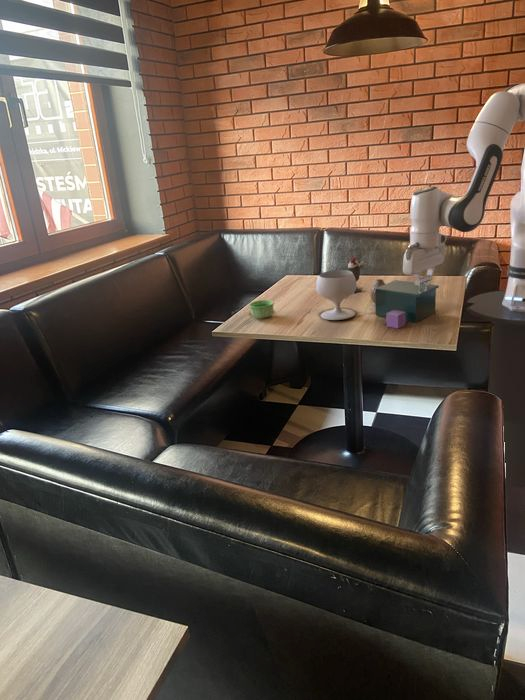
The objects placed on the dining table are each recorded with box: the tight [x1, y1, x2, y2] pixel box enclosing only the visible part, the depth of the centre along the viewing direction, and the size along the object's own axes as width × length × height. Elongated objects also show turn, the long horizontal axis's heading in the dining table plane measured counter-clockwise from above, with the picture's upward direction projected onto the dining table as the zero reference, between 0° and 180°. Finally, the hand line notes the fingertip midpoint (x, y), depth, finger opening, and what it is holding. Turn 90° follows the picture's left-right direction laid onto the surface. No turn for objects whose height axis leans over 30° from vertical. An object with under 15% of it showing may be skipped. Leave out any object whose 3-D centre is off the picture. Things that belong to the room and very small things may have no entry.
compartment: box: [375, 289, 437, 323], centre depth 183 cm, size 16×13×9 cm
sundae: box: [345, 254, 363, 293], centre depth 216 cm, size 7×7×15 cm
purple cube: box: [385, 310, 407, 329], centre depth 173 cm, size 4×4×4 cm
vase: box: [369, 278, 386, 305], centre depth 197 cm, size 7×7×9 cm
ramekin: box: [248, 299, 274, 319], centre depth 197 cm, size 9×9×4 cm
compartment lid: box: [375, 275, 440, 297], centre depth 180 cm, size 17×13×5 cm
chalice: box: [315, 269, 358, 321], centre depth 186 cm, size 14×14×15 cm
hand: (423, 282), depth 175 cm, fingers closed on compartment lid, 5 cm apart
